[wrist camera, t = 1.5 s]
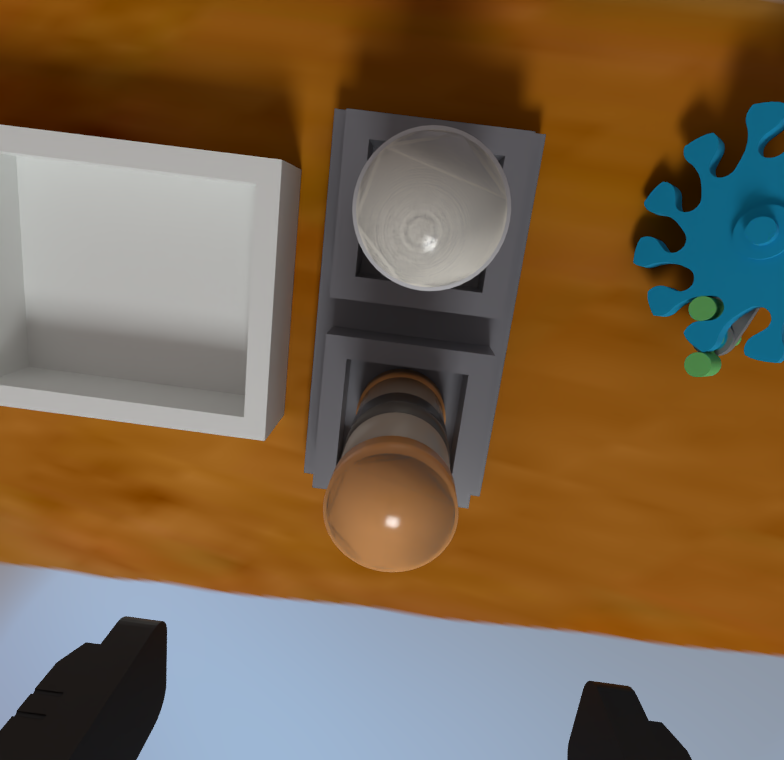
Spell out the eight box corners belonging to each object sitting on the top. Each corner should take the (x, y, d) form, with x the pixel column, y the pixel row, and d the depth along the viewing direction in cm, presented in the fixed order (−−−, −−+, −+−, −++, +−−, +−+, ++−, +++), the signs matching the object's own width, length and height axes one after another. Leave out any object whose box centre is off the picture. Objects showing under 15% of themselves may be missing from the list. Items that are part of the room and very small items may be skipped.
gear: (707, 65, 21) (1046, 119, 15) (749, 110, 26) (1030, 169, 19) (577, 316, 26) (800, 438, 20) (631, 322, 30) (829, 424, 24)
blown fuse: (450, 374, 26) (468, 460, 16) (437, 455, 27) (447, 580, 17) (363, 363, 26) (329, 441, 16) (354, 444, 27) (317, 562, 17)
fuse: (481, 175, 23) (524, 135, 14) (466, 273, 24) (496, 300, 15) (385, 163, 23) (361, 115, 14) (374, 261, 25) (344, 280, 15)
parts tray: (301, 169, 25) (282, 159, 21) (283, 414, 28) (264, 440, 25) (2, 132, 25) (-65, 116, 22) (19, 379, 28) (-37, 400, 25)
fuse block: (338, 114, 24) (326, 97, 21) (539, 139, 24) (557, 125, 21) (308, 462, 29) (295, 490, 26) (477, 485, 29) (484, 516, 25)
